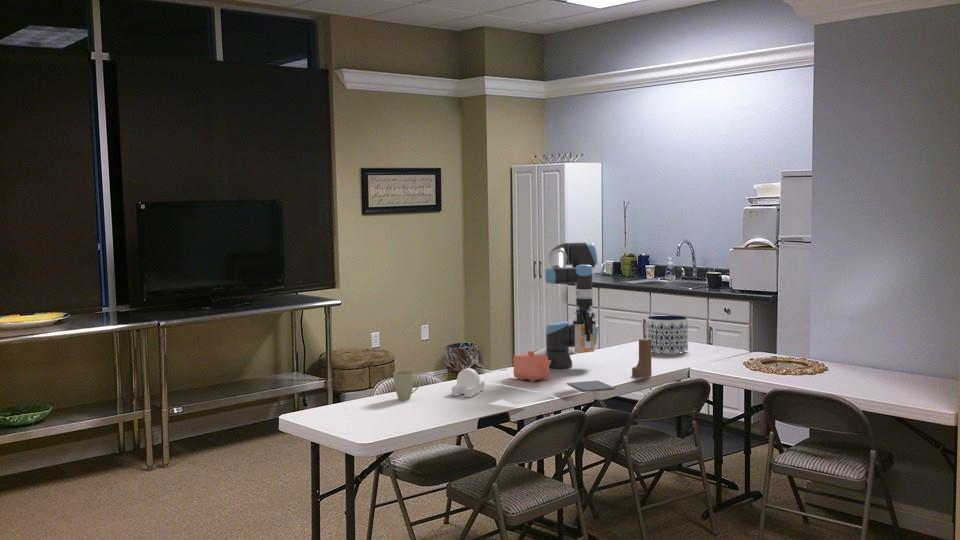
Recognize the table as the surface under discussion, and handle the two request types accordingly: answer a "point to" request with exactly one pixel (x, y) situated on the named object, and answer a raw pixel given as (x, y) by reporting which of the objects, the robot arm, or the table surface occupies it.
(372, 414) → the table surface
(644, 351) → the wooden block
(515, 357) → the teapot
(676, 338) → the planter
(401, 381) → the mug
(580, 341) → the supplement box
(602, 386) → the mat
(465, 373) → the tape dispenser
